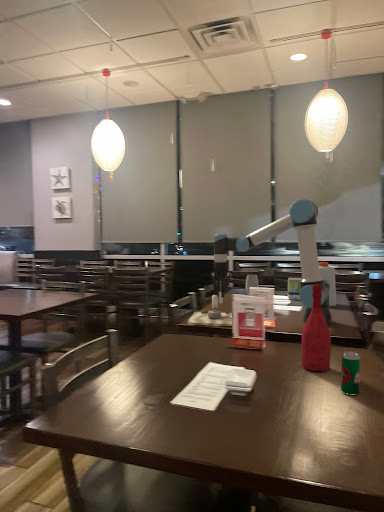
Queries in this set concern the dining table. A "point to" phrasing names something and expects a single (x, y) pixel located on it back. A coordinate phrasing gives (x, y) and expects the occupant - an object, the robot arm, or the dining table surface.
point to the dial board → (210, 319)
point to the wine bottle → (316, 337)
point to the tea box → (294, 288)
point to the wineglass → (251, 282)
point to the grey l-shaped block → (214, 308)
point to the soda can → (350, 373)
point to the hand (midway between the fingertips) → (220, 303)
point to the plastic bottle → (329, 274)
